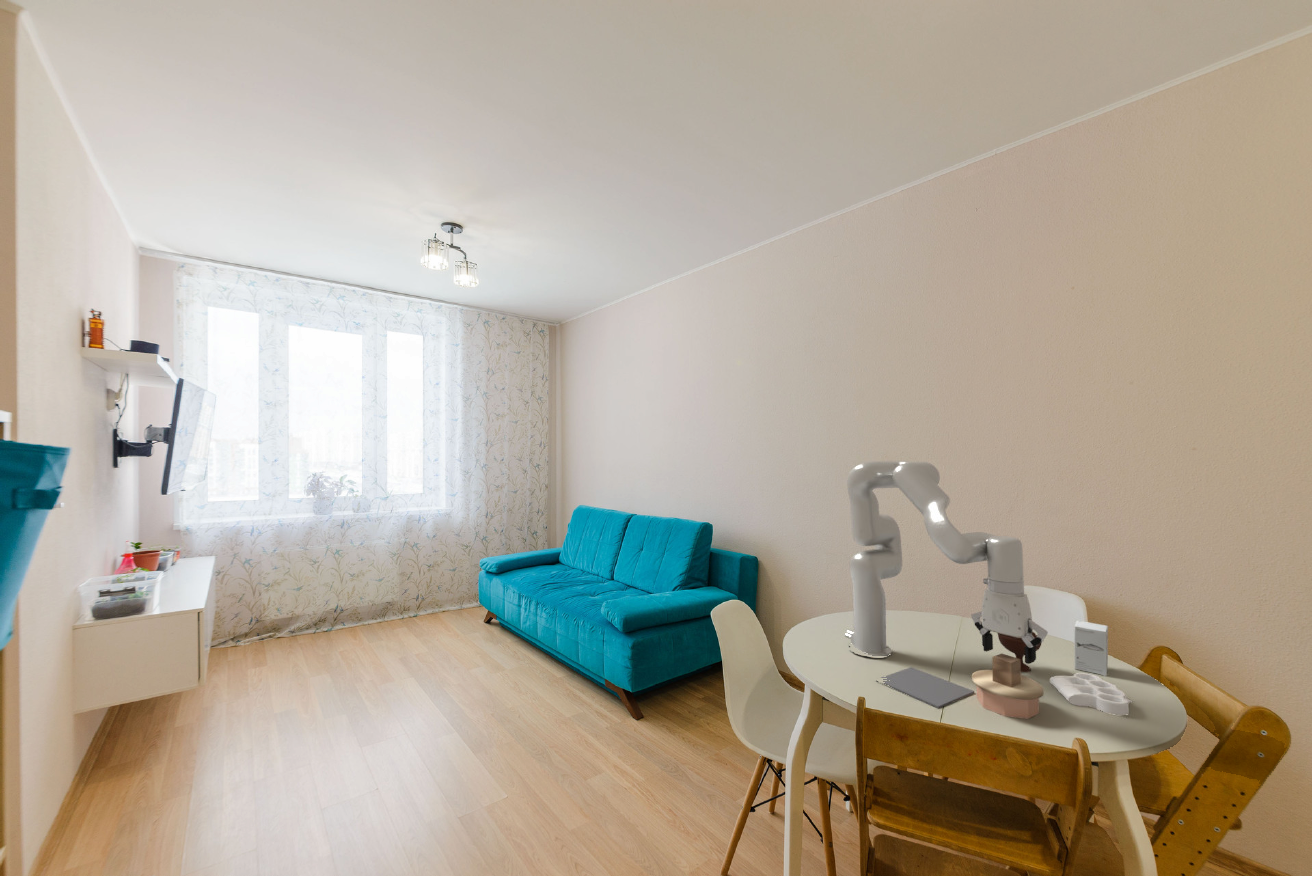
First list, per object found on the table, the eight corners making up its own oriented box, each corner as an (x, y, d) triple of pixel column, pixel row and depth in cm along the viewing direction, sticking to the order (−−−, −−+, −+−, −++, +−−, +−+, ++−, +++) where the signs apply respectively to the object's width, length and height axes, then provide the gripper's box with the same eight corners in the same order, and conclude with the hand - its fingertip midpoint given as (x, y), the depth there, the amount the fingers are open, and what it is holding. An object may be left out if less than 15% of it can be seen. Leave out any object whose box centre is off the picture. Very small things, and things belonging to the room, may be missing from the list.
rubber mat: (875, 681, 149) (875, 679, 149) (911, 668, 157) (911, 667, 157) (938, 708, 133) (938, 706, 133) (974, 693, 141) (974, 691, 142)
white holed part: (1045, 681, 149) (1108, 687, 145) (1074, 712, 132) (1147, 720, 128) (1045, 669, 149) (1108, 675, 145) (1074, 698, 132) (1147, 706, 128)
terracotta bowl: (969, 701, 137) (968, 681, 137) (994, 690, 143) (994, 671, 143) (1020, 722, 126) (1020, 701, 126) (1046, 709, 132) (1045, 689, 133)
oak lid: (959, 681, 137) (959, 654, 137) (991, 668, 145) (991, 642, 145) (1024, 705, 124) (1023, 675, 124) (1055, 689, 132) (1055, 662, 132)
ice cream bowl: (1050, 677, 151) (1049, 623, 151) (1006, 674, 153) (1005, 621, 153) (1032, 662, 161) (1031, 611, 161) (990, 659, 163) (990, 609, 163)
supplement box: (1073, 669, 156) (1073, 625, 156) (1076, 661, 161) (1075, 619, 162) (1107, 676, 151) (1106, 631, 151) (1108, 668, 156) (1108, 624, 156)
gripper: (962, 582, 140) (965, 648, 140) (1036, 596, 126) (1039, 671, 125) (978, 578, 144) (981, 643, 144) (1052, 591, 129) (1055, 664, 129)
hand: (1008, 656), depth 134 cm, fingers open, 9 cm apart
